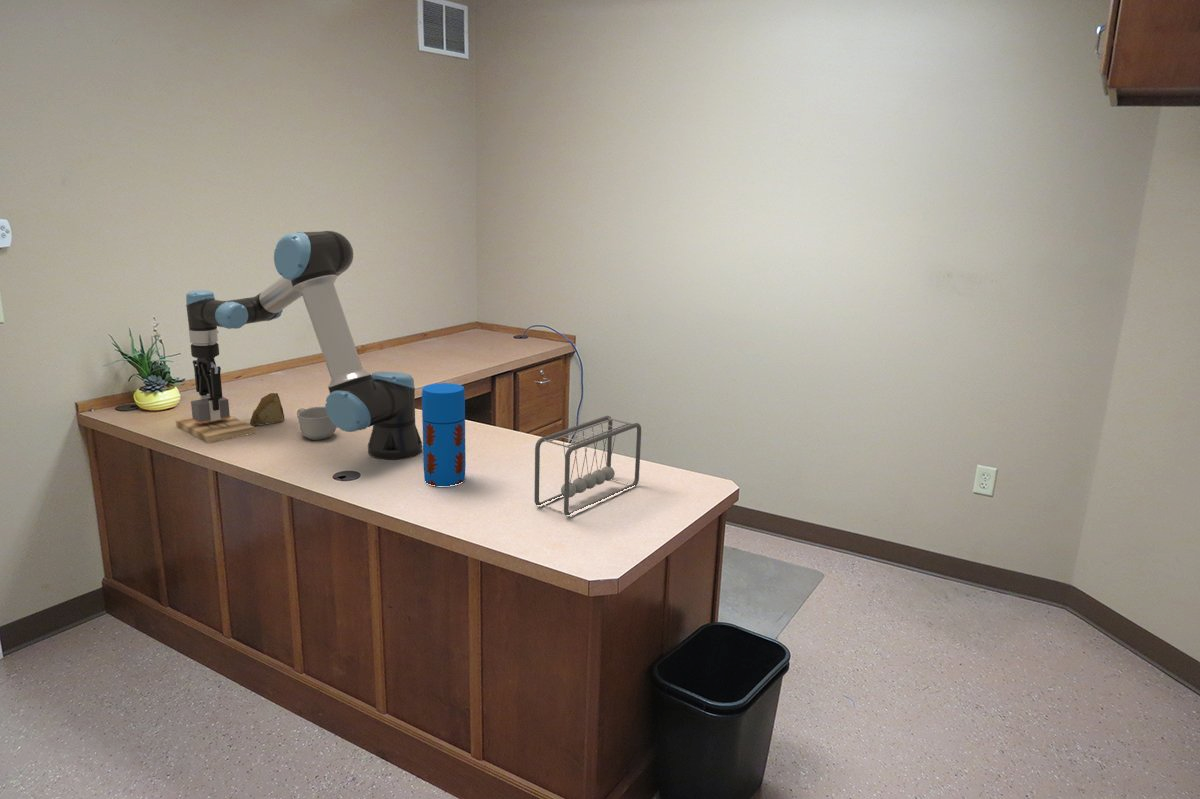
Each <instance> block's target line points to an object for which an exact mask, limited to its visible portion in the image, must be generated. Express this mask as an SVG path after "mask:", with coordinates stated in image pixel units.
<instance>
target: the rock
mask: <svg viewBox="0 0 1200 799" xmlns="http://www.w3.org/2000/svg"><path fill="white" fill-rule="evenodd" d="M284 421H285V414H284V409H283V405H282V403H281V398H280V396H279V393H278V392H276V393H274V392H270V393H269V394H268V393H267V395H265V396H263V397H261V398H260V401H259V402H258V404H257V407H256V408H255V409H254V410H253V412H252V415H251V418H250V420H249V425H252V426H254V427H255V425H257V426H260V425H259V424H264V425H267V424H266V423H271V424H274V423H273V422H276V423H281V422H284Z"/></svg>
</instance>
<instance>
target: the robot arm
mask: <svg viewBox="0 0 1200 799" xmlns="http://www.w3.org/2000/svg"><path fill="white" fill-rule="evenodd" d="M353 248H354V247H353V246H352V244H351V242H350V241H349V240H348V239H347V237H345V236H344V235H343V234H341V233H339V232H337V231H334V230H324V231H323V230H322V231H297V232H294V233H286V234H285V235H283V236H282V237H281V238H280V239H279V240H278V241H277V243H276V244H275V248H274V250H273V263H274V267H275V269H276V272H277V273H278V274H279V275H280V276H281V277H280V278H279V279H277V280H276V281H275V282H273V283H272V284H270V285H269V286H268V287H266V288H265V289H263V290H262V291H261V292H259V293H258V294H257V295H256V296H251V297H246V298H245V297H244V298H239V299H231V300H218V299H216V298H215V293H214V291H211V290H203V289H202V290H201V289H200V290H191V291H188V292H187V293H186V295H185V297H186V298H185V300H186V305H185V308H186V314H187V315H186V316H187V322H188V336H189V337H188V338H189V342H190V352H191V356H192V357H193V358H195V359H194V360H192V365H193V369H194V380H195V381H194V382H195V390H196V393H198V394H199V396H200V400H201V399H207V398H210V399H208V401H209V408H210V418H211V421H215V420H221V417H220V406H219V399H220V398H222V397H223V390H222V389H223V387H222V378H221V371H222V370H221V369H222V368H221V366H217V363H216V360H215V357H218V356H219V355H220V348H219V343H218V341H219V337H218V334H219V330H218V327H220V328H224V329H229V330H231V329H235V330H236V329H237V330H238V329H241V328H242V327H244V325H247V324H255V323H260V322H270V321H273V320H276V319H279V318H280V317H281V316H282V313H283V310H284V309H285V308H287V307H288V306H290V305H292V303H294V302H295V301H297V300H299V299H300V298H301V297H302V298H303V299H302V300H303V302H304V305H305V307H306V310H307V314H308V316H309V319H310V322H311V325H312V328H313V330H314V333H315V336H316V339H317V341H318V342H317V343H318V346H319V348H320V350H321V353H322V356H323V359H324V362H325V365H326V367H327V371H328V374H329V376H330V378H331V379H330V382H329V384H328V386H327V388H328V391H329V394H328V395H327V397H326V400H325V402H326V403H325V406H324V407H326V412H327V415H328V417H329V419H330V420H331V422H332V423H333V424H334V425H335V426H336V428H338V429H340V430H342V432H348V433H353V432H358V431H362V430H366V429H368V428H369V427H372V426H373V427H372V429H371V434H370V437H369V441H368V444H367V452H368V455H370V456H371V457H373V458H376V459H381V460H403V459H407V458H412V457H415V456H418V455H420V454H421V452H422V453H423V440H422V439H421V436H420V434H419V431H418V428H417V426H416V402H415V401H416V398H415V396H416V394H415V391H416V387H415V379H414V377H413V375H411V374H409V373H405V372H397V371H375V372H373V373H372V372H371V373H370V372H368V371H367V370H365V369H364V367H363V365H362V362H361V360H360V356H359V353H358V351H357V348H356V344H355V342H354V339H353V336H352V333H351V330H350V327H349V324H348V321H347V318H346V315H345V313H344V311H343V306H342V304H341V301H340V299H339V295H338V292H337V289H336V287H335V282H336V280H337V278H338V277H339V276H341V275H342V274H343V273H345V272H347V270H348V269H349V268H350V266H351V265H352V263H353V260H354V250H353Z"/></svg>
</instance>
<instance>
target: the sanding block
mask: <svg viewBox="0 0 1200 799" xmlns="http://www.w3.org/2000/svg"><path fill="white" fill-rule="evenodd" d="M208 399H210V398H207V399H201V398H200V399H196V400H191V401H190V406H191V417H193V421H195V422H197V423H199V424H202V423H207V422H213V421H211V418H210V408H209V401H208ZM219 406H220V417H221V420H223V419H228V418H230V416H231V415H230V402H229V399H228V398H226V397H224V396H222V398H220V399H219ZM215 421H218V420H215Z"/></svg>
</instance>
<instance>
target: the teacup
mask: <svg viewBox="0 0 1200 799" xmlns="http://www.w3.org/2000/svg"><path fill="white" fill-rule="evenodd" d="M296 415H297V419H298V424H299V430H300V433H301V435H302V436H304V437H306V438H307V439H309V440H312V441H319V440H321V441H322V440H325V439H328V438H330V437H332V435H333V434H334V433H335V432H336V430H337V427H336V426H335V425H334V424H333V423H332V422H331V420H330V419H329V417H328V415H327V412H326V407H325V406H314V407H309V408H308V407H307V408H299V409H298V410H297V413H296Z"/></svg>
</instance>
